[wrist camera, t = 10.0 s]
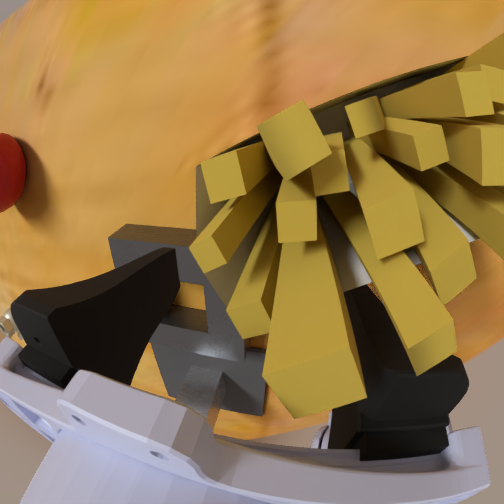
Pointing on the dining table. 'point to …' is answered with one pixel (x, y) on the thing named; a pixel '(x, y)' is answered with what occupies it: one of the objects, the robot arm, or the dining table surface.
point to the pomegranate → (11, 171)
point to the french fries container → (356, 221)
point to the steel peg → (203, 392)
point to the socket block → (177, 317)
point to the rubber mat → (235, 375)
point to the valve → (9, 325)
